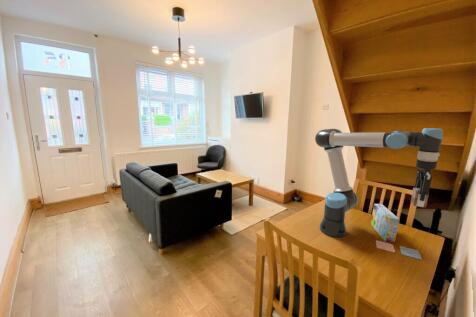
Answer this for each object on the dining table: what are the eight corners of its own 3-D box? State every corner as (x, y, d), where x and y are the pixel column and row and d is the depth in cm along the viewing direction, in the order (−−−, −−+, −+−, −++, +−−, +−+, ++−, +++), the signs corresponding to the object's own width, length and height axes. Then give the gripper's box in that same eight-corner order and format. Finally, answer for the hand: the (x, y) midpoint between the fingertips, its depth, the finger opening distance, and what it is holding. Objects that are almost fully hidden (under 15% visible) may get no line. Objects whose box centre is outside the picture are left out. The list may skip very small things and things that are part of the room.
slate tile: (402, 254, 108) (402, 254, 108) (399, 246, 114) (399, 245, 114) (421, 260, 104) (422, 259, 104) (417, 251, 111) (418, 250, 111)
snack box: (396, 243, 117) (400, 219, 114) (385, 242, 118) (389, 218, 115) (379, 224, 138) (382, 203, 135) (369, 223, 139) (372, 202, 136)
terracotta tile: (376, 248, 113) (377, 247, 113) (375, 240, 120) (375, 240, 120) (394, 252, 109) (395, 252, 109) (392, 244, 116) (392, 244, 116)
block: (413, 205, 105) (416, 190, 103) (410, 202, 109) (413, 187, 108) (425, 207, 103) (429, 191, 101) (422, 203, 107) (425, 188, 106)
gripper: (444, 164, 92) (434, 212, 97) (430, 157, 108) (421, 199, 112) (423, 162, 95) (414, 209, 100) (412, 156, 111) (404, 196, 116)
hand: (418, 204), depth 106 cm, fingers closed on block, 5 cm apart
